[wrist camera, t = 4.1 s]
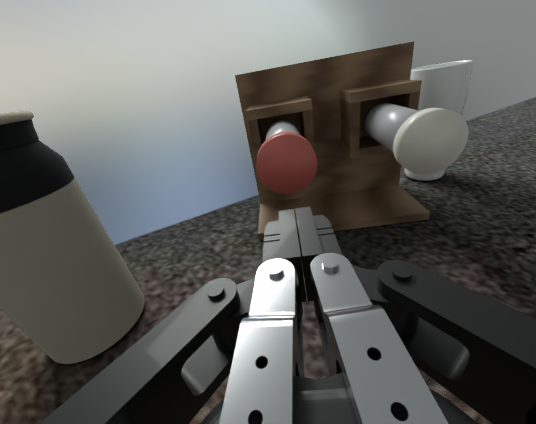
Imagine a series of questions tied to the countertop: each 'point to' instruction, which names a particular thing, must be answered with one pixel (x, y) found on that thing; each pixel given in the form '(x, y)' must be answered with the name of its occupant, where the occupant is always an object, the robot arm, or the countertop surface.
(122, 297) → the travel mug
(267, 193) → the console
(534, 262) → the countertop surface
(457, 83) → the drinking glass
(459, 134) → the ivory button
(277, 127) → the red button
